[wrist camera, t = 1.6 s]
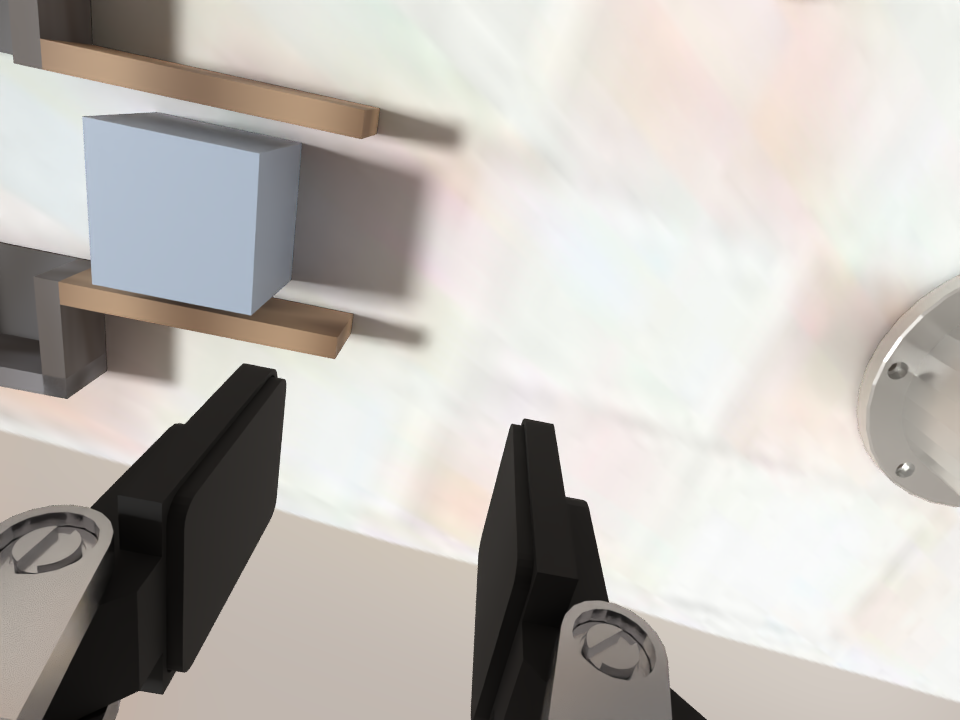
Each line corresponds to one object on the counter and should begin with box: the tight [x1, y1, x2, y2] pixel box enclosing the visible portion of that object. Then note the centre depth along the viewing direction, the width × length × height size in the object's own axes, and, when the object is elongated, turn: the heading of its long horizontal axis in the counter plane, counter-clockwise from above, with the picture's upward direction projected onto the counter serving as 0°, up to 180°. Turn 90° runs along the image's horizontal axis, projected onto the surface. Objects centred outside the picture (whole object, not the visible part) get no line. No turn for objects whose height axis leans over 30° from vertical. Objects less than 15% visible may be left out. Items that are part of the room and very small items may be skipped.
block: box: [82, 112, 302, 315], centre depth 24 cm, size 6×6×5 cm
